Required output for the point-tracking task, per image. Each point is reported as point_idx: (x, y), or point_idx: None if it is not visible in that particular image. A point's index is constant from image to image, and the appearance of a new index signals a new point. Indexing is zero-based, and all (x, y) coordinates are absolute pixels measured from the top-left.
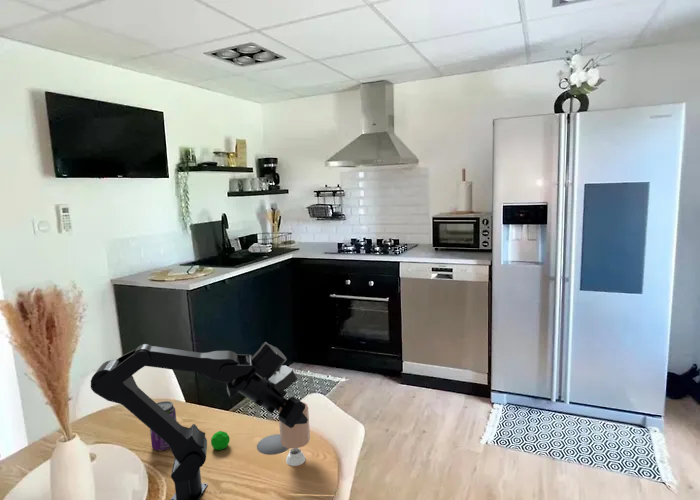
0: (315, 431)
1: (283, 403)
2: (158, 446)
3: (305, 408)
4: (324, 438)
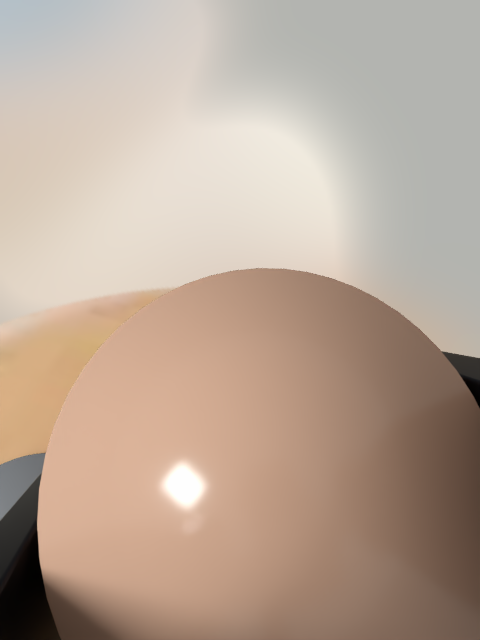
0: (39, 321)
1: (23, 615)
2: None
3: (360, 310)
4: (123, 301)
